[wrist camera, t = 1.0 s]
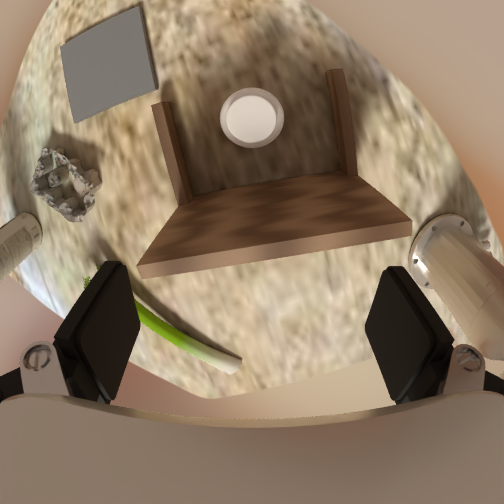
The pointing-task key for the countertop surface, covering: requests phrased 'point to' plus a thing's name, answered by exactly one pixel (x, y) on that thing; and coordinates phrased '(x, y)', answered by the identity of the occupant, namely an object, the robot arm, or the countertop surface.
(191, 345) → the green celery stalk
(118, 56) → the slate mat
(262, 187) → the walnut rack
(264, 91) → the supplement bottle
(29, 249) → the spray can
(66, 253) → the countertop surface
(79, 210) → the egg carton
